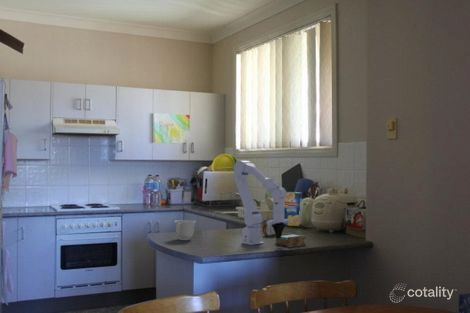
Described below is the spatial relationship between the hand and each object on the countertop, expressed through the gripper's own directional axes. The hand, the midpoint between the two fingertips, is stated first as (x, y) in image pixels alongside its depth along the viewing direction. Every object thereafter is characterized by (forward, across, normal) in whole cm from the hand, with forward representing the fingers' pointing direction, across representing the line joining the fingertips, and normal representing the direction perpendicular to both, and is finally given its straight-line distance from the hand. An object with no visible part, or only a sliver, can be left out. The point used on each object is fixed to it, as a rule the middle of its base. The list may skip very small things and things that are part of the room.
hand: (278, 238), depth 261 cm
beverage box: (+4, +66, +55) cm, 86 cm away
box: (+4, +8, 0) cm, 9 cm away
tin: (+4, +24, +30) cm, 38 cm away
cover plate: (+1, +9, 0) cm, 9 cm away
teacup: (+4, -28, +44) cm, 53 cm away
